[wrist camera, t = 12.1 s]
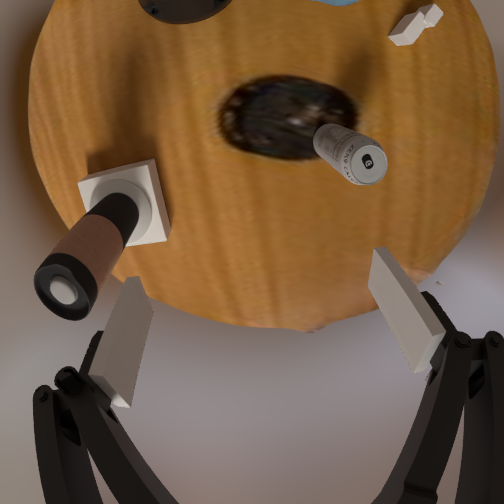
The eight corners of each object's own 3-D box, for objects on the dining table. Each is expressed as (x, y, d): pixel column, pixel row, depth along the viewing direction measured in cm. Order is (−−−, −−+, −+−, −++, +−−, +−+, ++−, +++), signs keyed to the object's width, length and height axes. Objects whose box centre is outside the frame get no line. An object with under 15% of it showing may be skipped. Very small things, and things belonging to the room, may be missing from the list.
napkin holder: (385, 56, 34) (403, 54, 29) (365, -2, 28) (381, -10, 23) (447, 55, 32) (466, 56, 27) (430, 3, 26) (448, -2, 21)
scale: (85, 175, 41) (72, 185, 37) (154, 158, 41) (145, 166, 37) (105, 239, 48) (96, 253, 44) (171, 229, 48) (165, 243, 44)
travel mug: (111, 239, 43) (60, 326, 26) (90, 200, 39) (21, 275, 22) (149, 225, 42) (104, 315, 25) (128, 182, 38) (62, 256, 21)
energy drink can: (322, 164, 43) (358, 198, 31) (304, 133, 41) (336, 155, 28) (352, 147, 42) (398, 175, 29) (336, 116, 39) (380, 130, 26)
